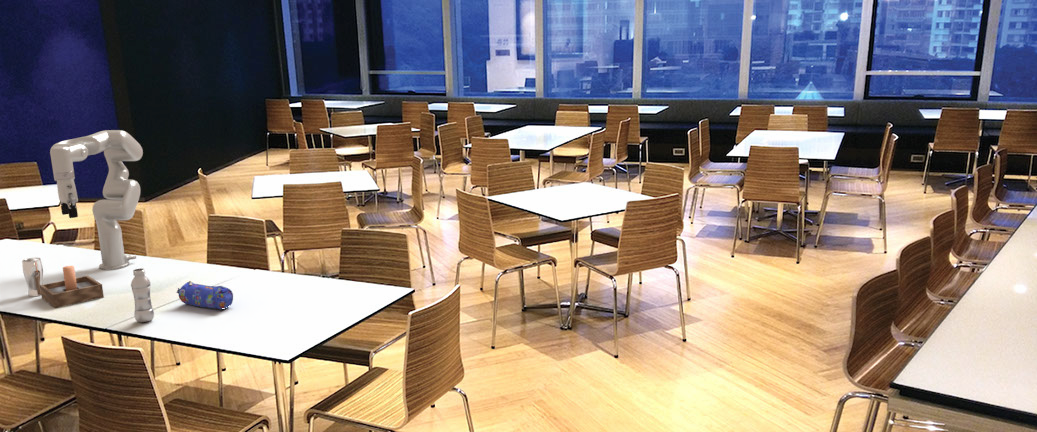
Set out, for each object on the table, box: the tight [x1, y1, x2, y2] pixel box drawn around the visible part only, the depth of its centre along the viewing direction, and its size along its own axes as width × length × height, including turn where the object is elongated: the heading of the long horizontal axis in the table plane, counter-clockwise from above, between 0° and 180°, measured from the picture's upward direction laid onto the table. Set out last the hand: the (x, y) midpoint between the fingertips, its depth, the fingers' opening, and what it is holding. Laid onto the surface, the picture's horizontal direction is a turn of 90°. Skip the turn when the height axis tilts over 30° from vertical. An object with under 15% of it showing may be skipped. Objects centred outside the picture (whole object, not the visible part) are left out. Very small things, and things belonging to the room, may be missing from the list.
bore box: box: [40, 275, 105, 309], centre depth 319 cm, size 18×18×6 cm
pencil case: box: [175, 280, 234, 310], centre depth 306 cm, size 22×9×10 cm, turn 66°
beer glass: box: [21, 257, 44, 298], centre depth 323 cm, size 7×7×15 cm
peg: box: [62, 265, 77, 291], centre depth 319 cm, size 4×4×12 cm
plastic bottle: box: [130, 268, 155, 323], centre depth 290 cm, size 6×7×20 cm
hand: (70, 215), depth 331 cm, fingers open, 9 cm apart
